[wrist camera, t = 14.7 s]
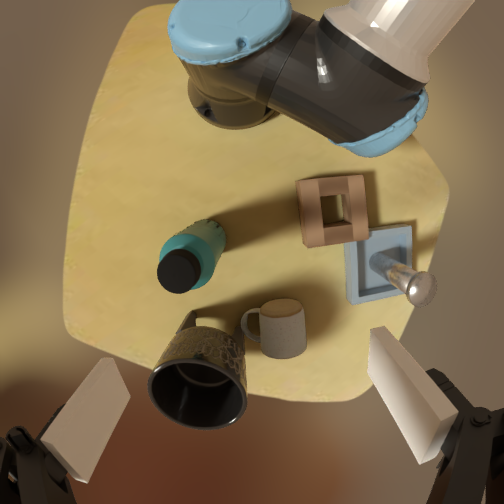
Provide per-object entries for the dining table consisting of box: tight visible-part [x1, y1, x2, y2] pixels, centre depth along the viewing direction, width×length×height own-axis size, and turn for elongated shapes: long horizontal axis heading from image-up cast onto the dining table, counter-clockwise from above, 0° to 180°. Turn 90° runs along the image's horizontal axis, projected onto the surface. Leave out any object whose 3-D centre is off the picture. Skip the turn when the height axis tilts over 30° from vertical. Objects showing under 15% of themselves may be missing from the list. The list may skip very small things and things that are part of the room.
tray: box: [344, 224, 412, 305], centre depth 43 cm, size 12×12×3 cm
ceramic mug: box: [241, 299, 307, 359], centre depth 43 cm, size 11×8×8 cm
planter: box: [147, 311, 248, 430], centre depth 39 cm, size 13×13×18 cm
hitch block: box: [295, 175, 369, 248], centre depth 41 cm, size 10×10×4 cm
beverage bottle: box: [157, 219, 227, 294], centre depth 34 cm, size 6×7×20 cm
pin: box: [369, 252, 437, 307], centre depth 37 cm, size 5×5×15 cm
